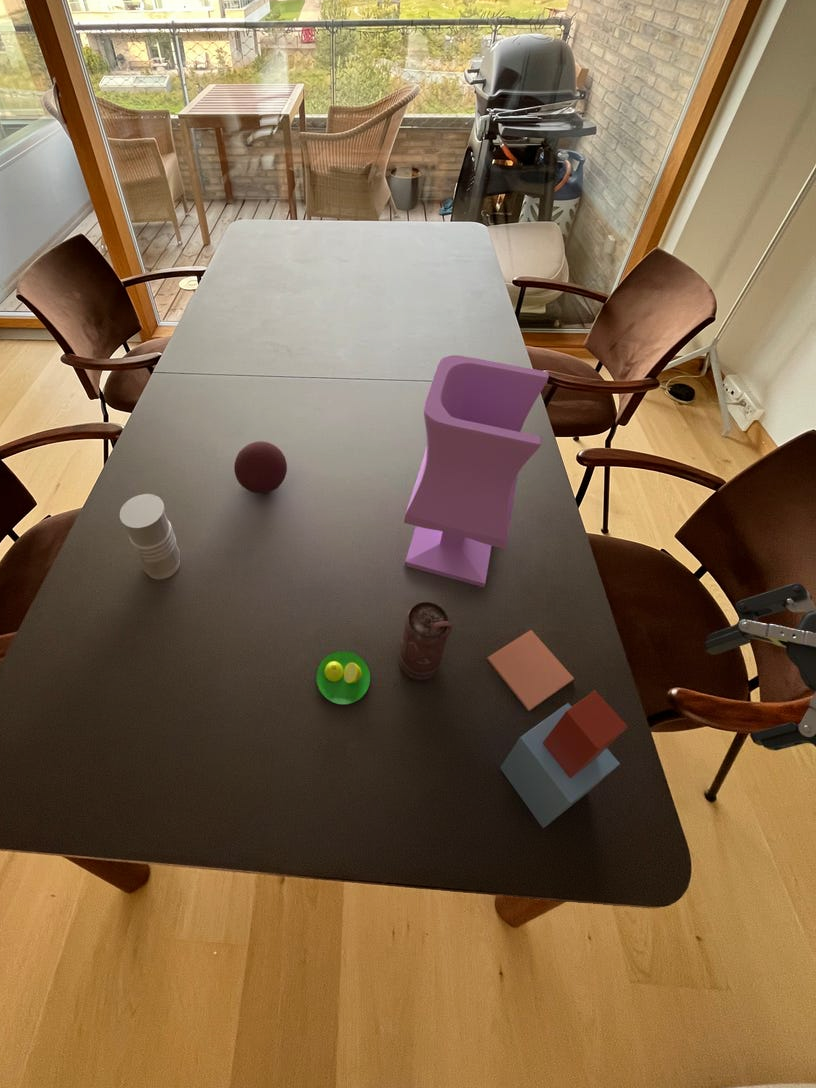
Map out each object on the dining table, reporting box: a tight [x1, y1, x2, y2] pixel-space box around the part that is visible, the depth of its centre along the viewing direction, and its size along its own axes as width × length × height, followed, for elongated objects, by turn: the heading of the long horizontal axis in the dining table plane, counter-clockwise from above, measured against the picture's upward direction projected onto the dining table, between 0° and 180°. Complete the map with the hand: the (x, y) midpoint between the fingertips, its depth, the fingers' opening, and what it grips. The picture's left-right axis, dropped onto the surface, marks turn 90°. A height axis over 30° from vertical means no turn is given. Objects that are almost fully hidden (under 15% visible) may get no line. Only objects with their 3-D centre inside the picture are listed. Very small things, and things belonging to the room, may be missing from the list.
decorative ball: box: [233, 440, 288, 495], centre depth 109 cm, size 10×10×10 cm
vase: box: [403, 354, 550, 588], centre depth 90 cm, size 16×16×35 cm
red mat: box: [486, 629, 575, 712], centre depth 86 cm, size 9×9×1 cm
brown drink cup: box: [397, 601, 453, 684], centre depth 82 cm, size 6×6×14 cm
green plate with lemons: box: [316, 650, 371, 705], centre depth 84 cm, size 8×8×3 cm
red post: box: [543, 690, 628, 778], centre depth 63 cm, size 4×4×10 cm
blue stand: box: [500, 702, 621, 829], centre depth 71 cm, size 8×8×12 cm
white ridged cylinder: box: [119, 493, 181, 580], centre depth 94 cm, size 7×7×15 cm
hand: (729, 692), depth 55 cm, fingers open, 8 cm apart
